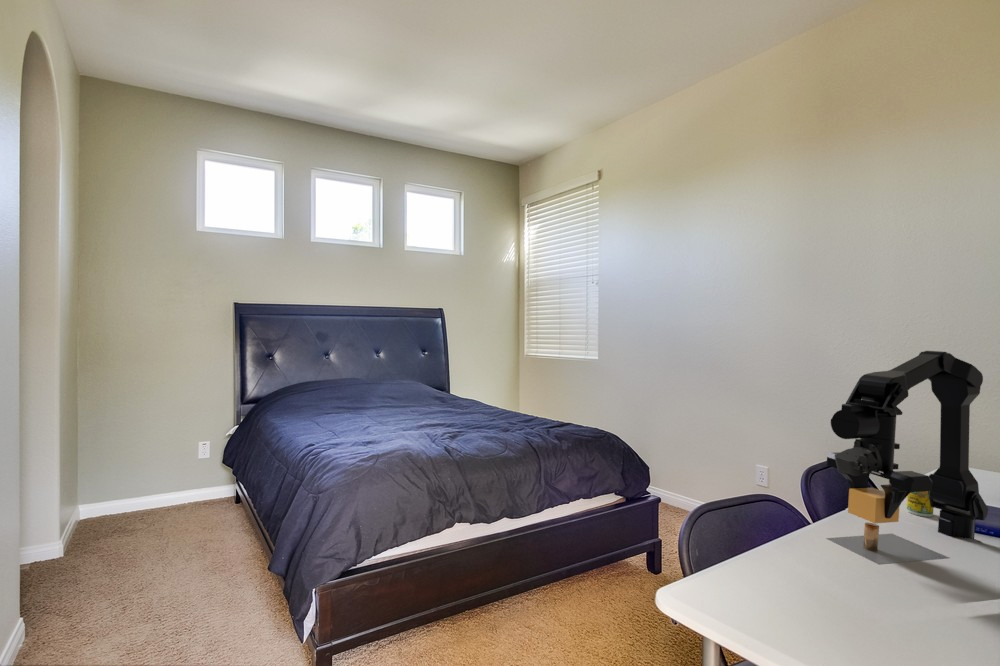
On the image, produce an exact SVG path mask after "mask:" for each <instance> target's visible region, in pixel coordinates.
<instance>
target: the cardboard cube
mask: <svg viewBox="0 0 1000 666" xmlns="http://www.w3.org/2000/svg"><path fill="white" fill-rule="evenodd" d="M847 502H848V503H847V504H848V505H847V513H849V514H850V515H853V516H855V517H857V518H861V519H862V520H865V521H867V522H868V521H869V523H873V524H884V523H888V524H889V523H898V522H899V518H900V506H899V507H898V508H897V510H896V511H895V513H894V514H893V516H892V517H891V518H885V512H884V507H885V491H884V490H881V489H877V488H875V487H867V488H852V489H851V488H849V489H848V501H847Z"/></svg>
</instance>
